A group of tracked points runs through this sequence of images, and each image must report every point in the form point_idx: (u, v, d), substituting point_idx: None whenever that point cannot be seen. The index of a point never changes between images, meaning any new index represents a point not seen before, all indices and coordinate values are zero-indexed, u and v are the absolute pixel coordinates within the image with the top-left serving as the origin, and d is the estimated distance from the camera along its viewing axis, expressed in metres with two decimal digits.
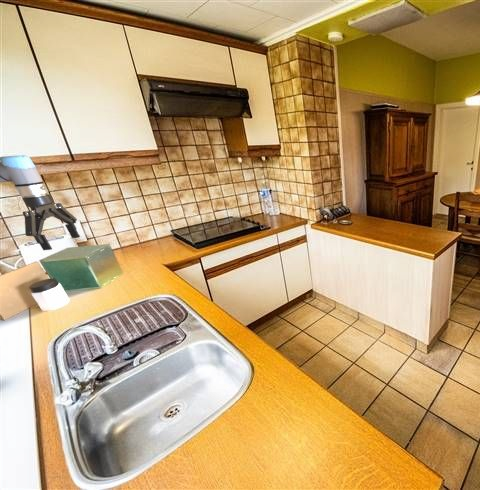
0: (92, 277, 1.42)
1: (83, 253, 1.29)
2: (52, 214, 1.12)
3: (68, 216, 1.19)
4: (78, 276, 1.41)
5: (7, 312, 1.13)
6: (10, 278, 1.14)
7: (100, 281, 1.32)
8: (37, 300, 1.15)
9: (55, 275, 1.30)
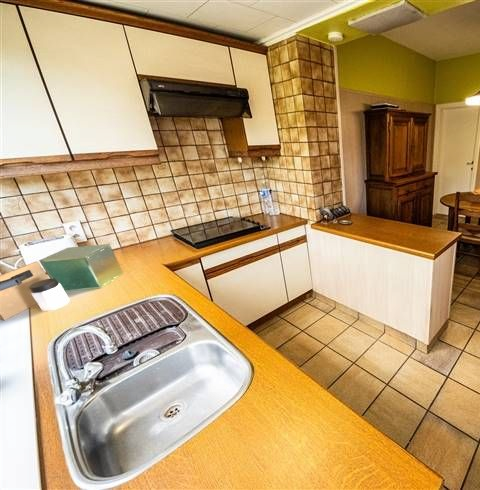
0: (92, 277, 1.42)
1: (83, 253, 1.29)
2: None
3: None
4: (78, 276, 1.41)
5: (7, 312, 1.13)
6: None
7: (100, 281, 1.32)
8: (37, 300, 1.15)
9: (55, 275, 1.30)
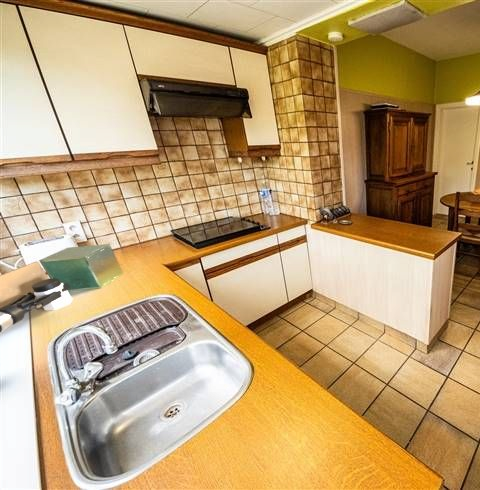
0: (92, 277, 1.42)
1: (83, 253, 1.29)
2: None
3: None
4: (78, 276, 1.41)
5: None
6: (10, 278, 1.14)
7: (100, 281, 1.32)
8: None
9: (55, 275, 1.30)
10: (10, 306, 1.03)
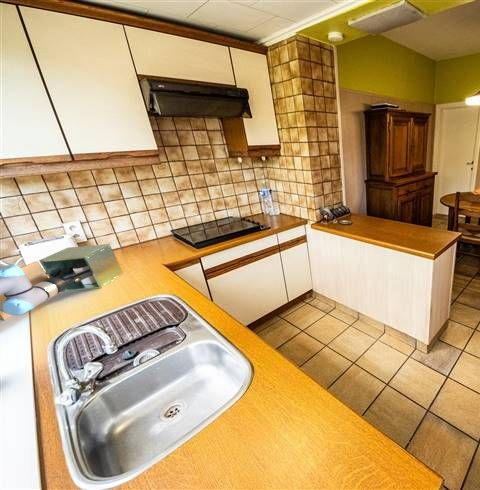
0: None
1: (83, 253, 1.29)
2: None
3: None
4: None
5: None
6: None
7: (100, 281, 1.32)
8: None
9: None
10: (55, 278, 1.20)
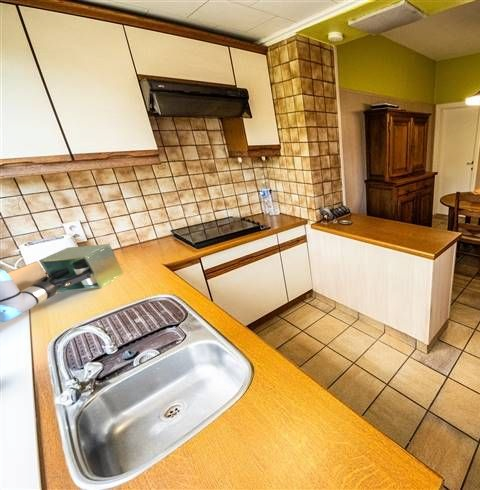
0: None
1: (83, 253, 1.29)
2: None
3: None
4: None
5: None
6: None
7: (100, 281, 1.32)
8: None
9: None
10: (44, 282, 1.15)
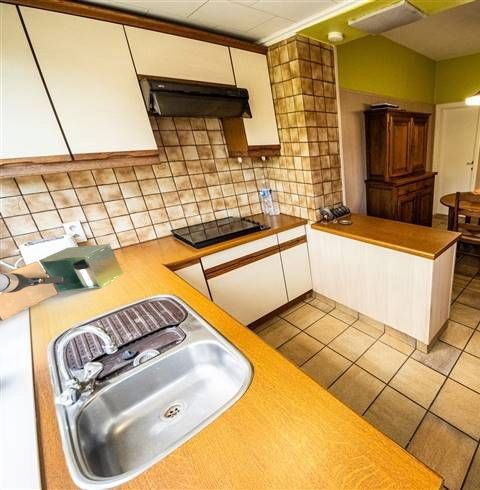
0: None
1: (83, 253, 1.29)
2: None
3: None
4: None
5: (5, 312, 1.13)
6: None
7: (100, 281, 1.32)
8: (78, 275, 1.32)
9: (55, 275, 1.30)
10: None
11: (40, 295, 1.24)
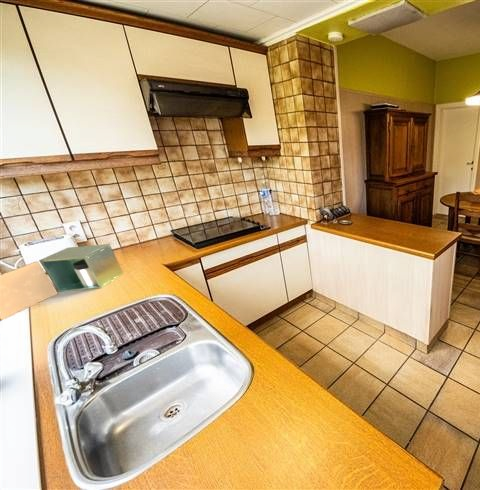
0: None
1: (83, 253, 1.29)
2: None
3: None
4: None
5: (4, 312, 1.13)
6: (8, 278, 1.14)
7: (100, 281, 1.32)
8: (78, 275, 1.32)
9: (55, 275, 1.30)
10: None
11: (40, 295, 1.24)
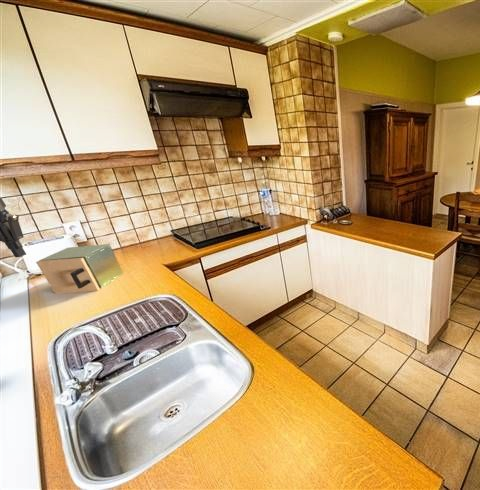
0: None
1: (83, 253, 1.29)
2: None
3: None
4: None
5: None
6: None
7: (100, 281, 1.32)
8: None
9: None
10: None
11: None
